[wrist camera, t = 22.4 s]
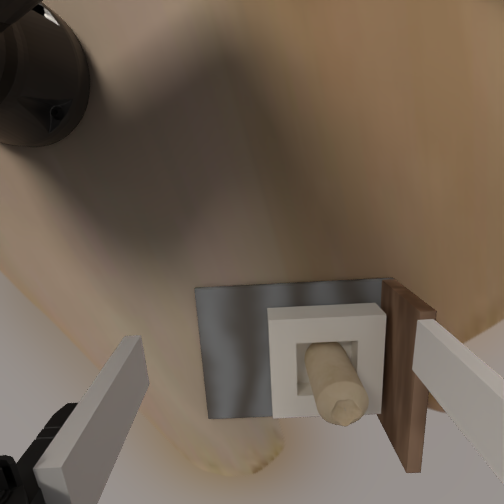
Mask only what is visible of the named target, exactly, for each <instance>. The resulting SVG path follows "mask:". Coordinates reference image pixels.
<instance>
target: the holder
mask: <svg viewBox="0 0 504 504" xmlns="http://www.w3.org/2000/svg"><path fill="white" fill-rule="evenodd" d="M267 317H268V338H269V359H270V381H271V401H272V414H273V418H293V417H316V416H317V417H319V416H320V414H319V413H318V410H317V407H316V403H315V399H314V395H313V392H312V388H311V384H310V381H309V377H308V373H307V369H306V366H305V353H306V350H307V349H308V347H309V346H310V345H311V344H312V343H317V342H338V343H339V344H340V345H341V346H342V347H343V348H344V350H345V352H346V353H347V355H348V357H349V359H350V361H351V363H352V365H353V367H354V369H355V371H356V373H357V375H358V377H359V379H360V381H361V383H362V385H363V387H364V389H365V390H366V392H367V395H368V398H369V405H368V408H367V411H366V412H365V414H381V404H382V387H383V369H384V351H385V333H386V314H385V312H384V311H383V310H382V309H381V308H380V307H379V306H378V305H377V304H376V303H358V304H337V305H317V306H297V307H277V308H267Z"/></svg>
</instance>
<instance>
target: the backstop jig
mask: <svg viewBox="0 0 504 504" xmlns="http://www.w3.org/2000/svg"><path fill="white" fill-rule="evenodd" d="M195 298H196V307H197V316H198V326H199V335H200V344H201V354H202V363H203V372H204V381H205V391H206V400H207V409H208V418H209V419H219V418H242V417H265V416H273V414H272V401H271V381H270V359H269V338H268V317H267V308H277V307H297V306H317V305H337V304H358V303H376V304H377V305H378V306H379V307H380V308H381V309H382V310H383V311H384V312H385V314H386V333H385V351H384V369H383V387H382V404H381V414H377V416H378V418H379V420H380V422H381V424H382V426H383V428H384V430H385V432H386V434H387V436H388V438H389V440H390V442H391V444H392V445H393V447H394V449H395V451H396V453H397V455H398V457H399V459H400V461H401V463H402V465H403V467H404V469H405V471H406V473H419V472H421V463H422V454H423V444H424V433H425V424H426V413H427V403H428V393H429V390H428V389H427V388H426V386H425V385H424V384H423V383H422V381H421V380H420V379H419V378H418V376H417V375H416V374H415V372H414V371H413V370H412V366H413V357H414V347H415V338H416V329H417V320H425V319H434V320H435V321H436V313H437V311H436V310H435V309H433V308H432V307H431V306H429V305H428V304H427V303H425V302H424V301H423V300H421V299H420V298H419V297H417V296H416V295H415V294H413V293H412V292H411V291H410V290H408V289H407V288H406V287H404V286H403V285H402V284H400V283H399V282H398V281H396V280H395V279H394V278H376V279H357V280H337V281H317V282H297V283H278V284H258V285H238V286H219V287H199V288H195Z"/></svg>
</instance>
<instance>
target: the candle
mask: <svg viewBox="0 0 504 504" xmlns="http://www.w3.org/2000/svg"><path fill="white" fill-rule="evenodd" d="M305 366H306V369H307V373H308V377H309V381H310V384H311V388H312V392H313V395H314V399H315V403H316V407H317V410H318V413H319V414H320V416H321V417H322V418H323V419H324V420H326V421H327V422H329V423H332V424H335V425H341V426H348V425H349V424H351V423H354V422H356V421H357V420H359V419H360V418H361V417H362V416H363V415H364V414H365V412H366V411H367V408H368V405H369V398H368V395H367V392H366V390H365V389H364V387H363V385H362V383H361V381H360V379H359V377H358V375H357V373H356V371H355V369H354V367H353V365H352V363H351V361H350V359H349V357H348V355H347V353H346V352H345V350H344V348H343V347H342V346H341V345H340V344H339V343H338V342H317V343H312V344H311V345H310V346H309V347H308V349H307V350H306V353H305Z"/></svg>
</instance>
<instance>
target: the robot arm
mask: <svg viewBox="0 0 504 504" xmlns="http://www.w3.org/2000/svg"><path fill="white" fill-rule="evenodd" d="M42 1H43V0H0V142H2V143H6V144H10V145H18V146H27V147H38V146H45V145H49V144H52V143H55V142H57V141H59V140H61V139H62V138H64V137H65V136H67V135H68V134H69V133H70V132H71V131H72V130H73V129H74V128H75V127H76V126H77V124H78V123H79V121H80V120H81V118H82V116H83V114H84V112H85V109H86V106H87V103H88V98H89V89H90V79H89V70H88V65H87V61H86V58H85V55H84V52H83V50H82V47H81V45H80V43H79V41H78V40H77V38H76V36H75V35H74V33H73V32H72V30H71V29H70V28H69V26H68V25H67V24H66V23H65V22H64V21H63V20H62V19H61V18H60V17H59V16H58V15H57V14H56V13H55V12H53V11H52V10H51V9H50V8H48V7H47V6H46V5H45V4H43V3H42ZM412 370H413V371H414V372H415V374H416V375H417V376H418V378H419V379H420V380H421V381H422V383H423V384H424V385H425V386H426V388H427V389H428V390H429V391H430V393H431V394H432V395H433V396H434V398H435V399H436V400H437V402H438V403H439V404H440V405H441V407H442V408H443V409H444V410H445V412H446V413H447V414H448V415H449V417H450V418H451V419H452V420H453V422H454V423H455V424H456V426H458V428H459V429H460V431H461V432H462V433H463V434H464V436H465V437H466V438H467V439H468V441H469V442H470V443H471V444H472V446H473V447H474V448H475V449H476V451H477V452H478V453H479V454H480V456H481V457H482V458H483V460H484V461H485V462H486V463H487V465H488V466H489V467H490V468H491V470H492V471H493V472H494V473H495V475H496V476H497V477H498V479H499V480H500V481H501V482H502V483H503V485H504V378H502V377H501V376H500V375H499V374H498V373H497V372H495V371H494V370H493V369H492V368H490V367H489V366H488V365H487V364H486V363H485V362H484V361H482V360H481V359H480V358H479V357H478V356H477V355H475V354H474V353H473V352H472V351H471V350H470V349H468V348H467V347H466V346H465V345H464V344H462V343H461V342H460V341H459V340H458V339H457V338H455V337H454V336H453V335H452V334H451V333H449V332H448V331H447V330H446V329H445V328H444V327H442V326H441V325H440V324H439V323H438V322H437V321H435V320H434V319H425V320H417V329H416V338H415V347H414V357H413V366H412ZM148 386H149V378H148V373H147V367H146V361H145V355H144V350H143V344H142V338H141V335H136V336H125V337H124V338H123V340H122V341H121V342H120V344H119V345H118V347H117V348H116V350H115V351H114V352H113V354H112V355H111V357H110V358H109V360H108V361H107V363H106V364H105V365H104V367H103V368H102V370H101V371H100V373H99V374H98V376H97V377H96V378H95V380H94V382H93V383H92V384H91V386H90V387H89V389H88V390H87V391H86V393H85V394H84V396H83V397H82V399H81V400H80V402H79V403H68V404H66V405H65V406H64V407H62V408H61V409H60V410H59V411H57V412H56V413H55V414H54V415H53V416H52V418H51V419H50V420H49V421H48V423H47V424H46V425H45V427H44V429H42V431H41V432H40V433H39V434H38V436H37V438H36V440H34V441H33V442H32V444H31V445H30V446H29V448H28V449H27V451H26V452H25V453H24V454H23V456H22V457H21V458H20V459H19V461H18V462H17V463H16V462H15V461H14V459H13V457H11V456H7V455H3V456H0V504H97V503H98V501H99V499H100V497H101V494H102V492H103V490H104V487H105V485H106V483H107V480H108V478H109V476H110V473H111V471H112V469H113V467H114V464H115V462H116V460H117V457H118V455H119V453H120V451H121V448H122V446H123V444H124V441H125V439H126V437H127V434H128V432H129V430H130V428H131V425H132V423H133V421H134V418H135V416H136V414H137V412H138V409H139V407H140V405H141V402H142V400H143V398H144V395H145V393H146V391H147V389H148Z"/></svg>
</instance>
